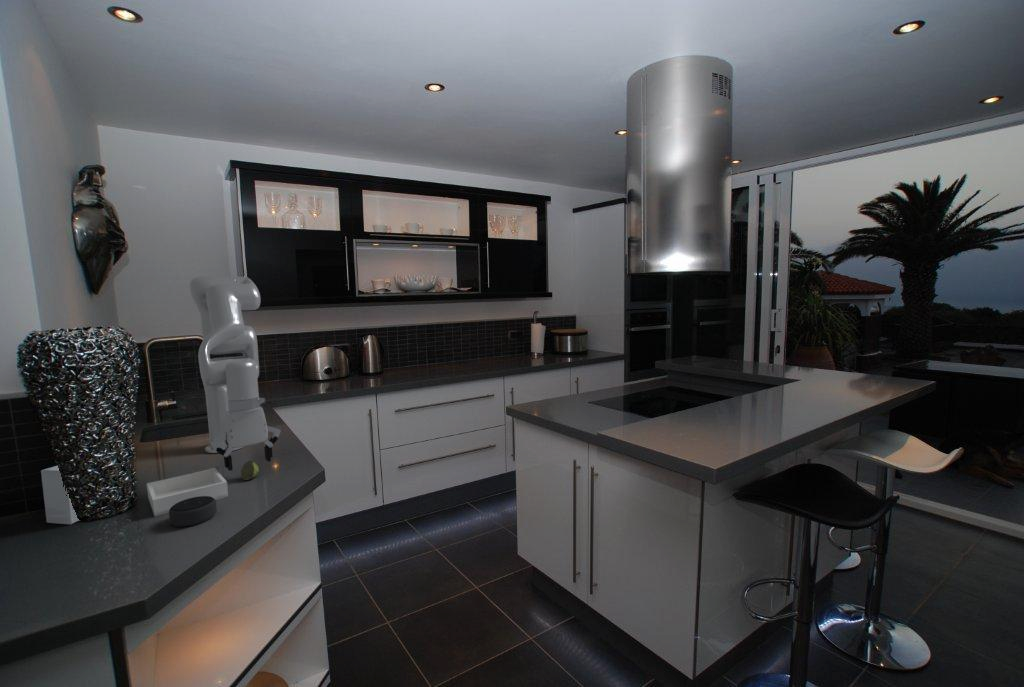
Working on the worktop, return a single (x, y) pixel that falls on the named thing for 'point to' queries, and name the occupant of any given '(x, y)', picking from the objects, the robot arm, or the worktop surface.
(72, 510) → the grey tall block
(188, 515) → the smart speaker
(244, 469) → the lime
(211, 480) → the bin
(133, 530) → the worktop surface
